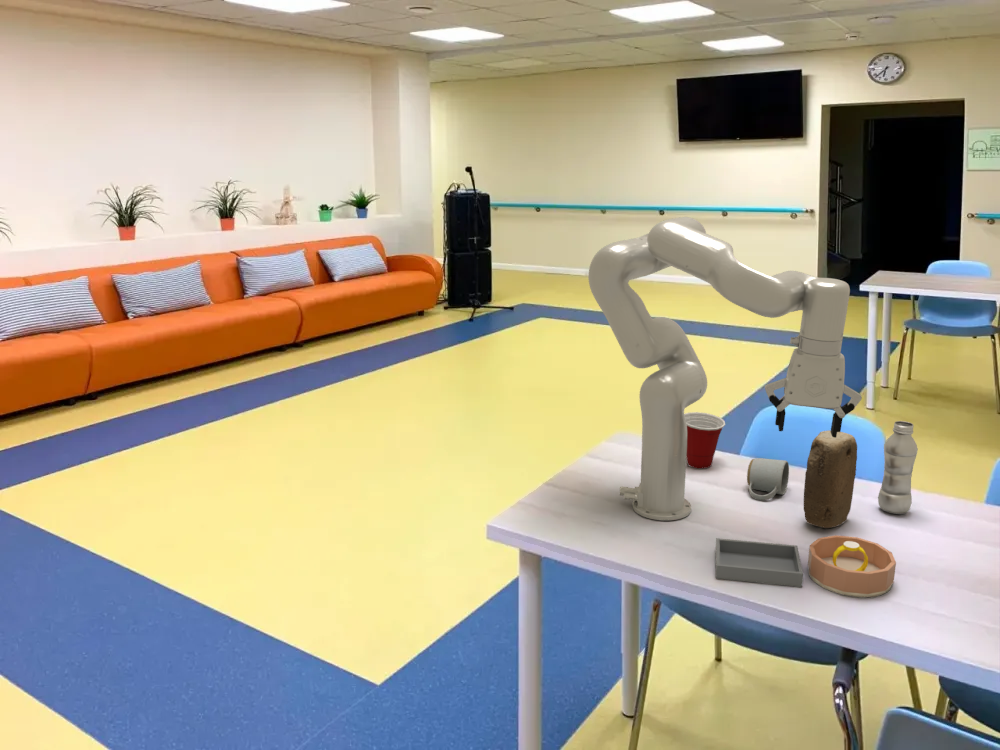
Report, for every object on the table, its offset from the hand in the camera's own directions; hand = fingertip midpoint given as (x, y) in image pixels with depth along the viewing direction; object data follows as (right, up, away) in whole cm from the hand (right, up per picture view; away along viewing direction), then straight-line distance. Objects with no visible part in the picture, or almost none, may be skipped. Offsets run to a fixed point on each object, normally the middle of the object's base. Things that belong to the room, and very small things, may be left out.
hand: (806, 431), depth 166 cm
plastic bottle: (+27, -19, +22) cm, 40 cm away
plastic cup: (-9, -11, +49) cm, 51 cm away
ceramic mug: (+2, -16, +33) cm, 37 cm away
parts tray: (-10, -26, -1) cm, 28 cm away
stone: (+10, -20, +17) cm, 29 cm away
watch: (+6, -26, -5) cm, 27 cm away
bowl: (+6, -27, -5) cm, 28 cm away
